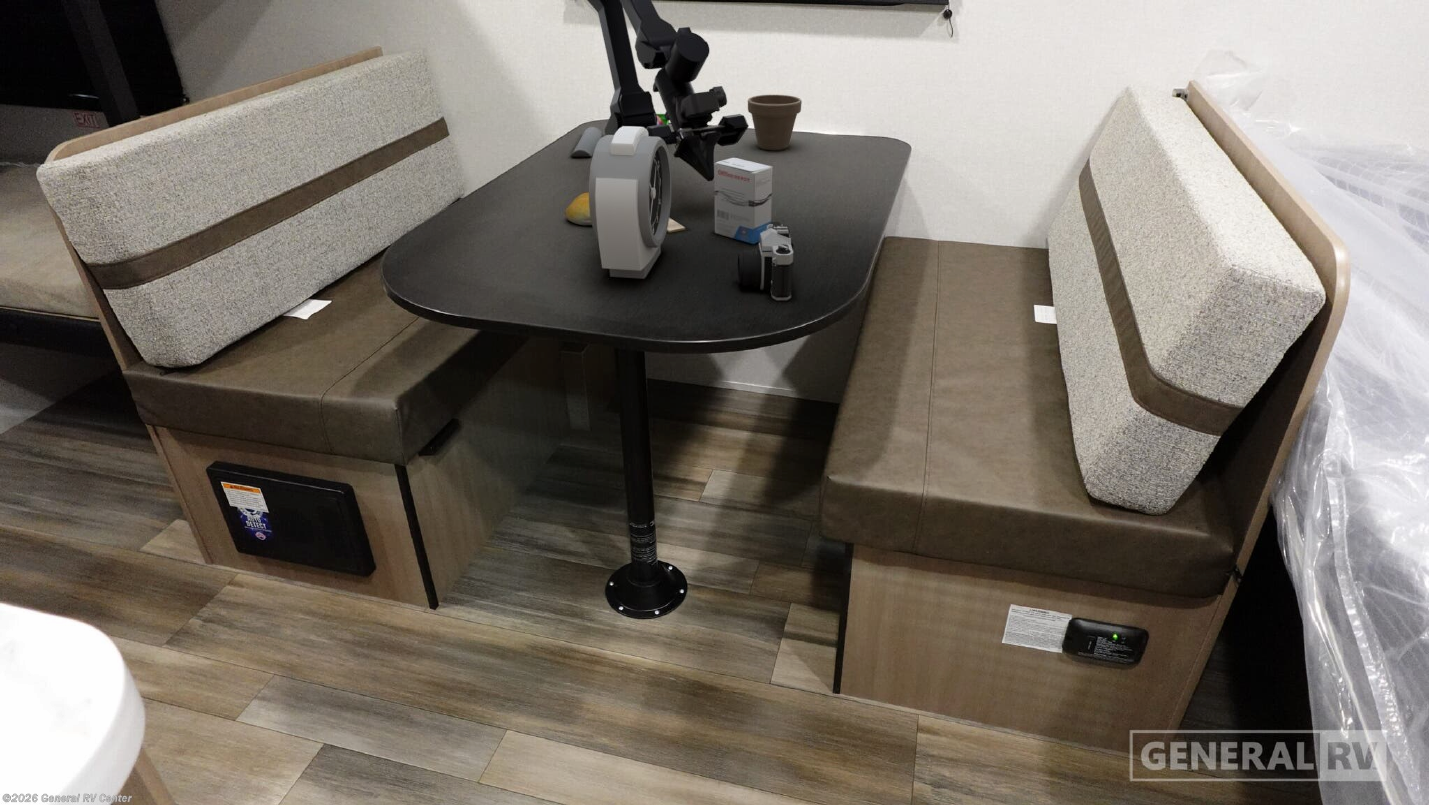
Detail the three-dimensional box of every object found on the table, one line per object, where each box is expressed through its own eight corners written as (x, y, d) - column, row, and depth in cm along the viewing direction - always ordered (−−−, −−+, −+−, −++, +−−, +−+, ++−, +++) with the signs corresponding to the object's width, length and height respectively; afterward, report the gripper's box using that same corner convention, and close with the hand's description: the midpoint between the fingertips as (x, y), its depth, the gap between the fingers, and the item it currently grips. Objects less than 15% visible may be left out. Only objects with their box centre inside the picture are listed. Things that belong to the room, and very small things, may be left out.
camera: (733, 266, 133) (733, 210, 128) (784, 264, 133) (786, 208, 128) (742, 309, 122) (743, 249, 117) (798, 306, 123) (801, 246, 118)
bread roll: (561, 225, 149) (558, 202, 147) (577, 208, 157) (575, 186, 154) (608, 228, 148) (606, 205, 146) (622, 210, 155) (621, 188, 153)
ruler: (628, 206, 158) (628, 203, 157) (643, 203, 159) (643, 201, 159) (669, 232, 146) (669, 230, 145) (685, 229, 147) (685, 227, 147)
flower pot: (765, 137, 198) (766, 90, 193) (809, 144, 193) (811, 97, 187) (736, 148, 190) (736, 100, 185) (781, 156, 185) (782, 107, 179)
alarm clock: (648, 289, 126) (642, 147, 115) (591, 285, 127) (579, 144, 117) (675, 244, 141) (671, 115, 130) (624, 241, 142) (616, 113, 132)
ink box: (772, 237, 144) (774, 165, 138) (753, 245, 140) (754, 172, 134) (732, 225, 149) (733, 155, 142) (713, 233, 145) (712, 161, 139)
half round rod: (570, 158, 184) (569, 149, 183) (583, 134, 201) (583, 126, 200) (590, 158, 184) (590, 149, 183) (602, 134, 201) (601, 126, 200)
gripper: (643, 75, 139) (676, 162, 137) (744, 64, 147) (777, 146, 145) (625, 116, 149) (656, 197, 147) (720, 103, 157) (751, 180, 155)
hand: (711, 179), depth 148 cm, fingers closed
